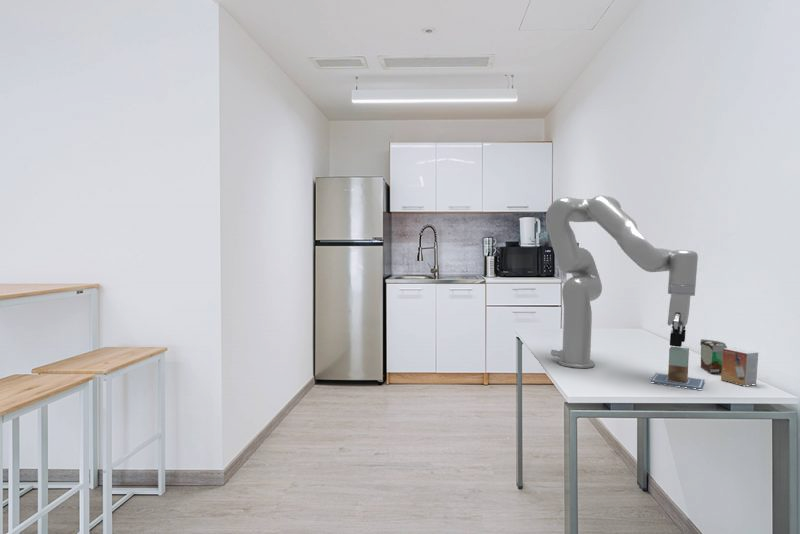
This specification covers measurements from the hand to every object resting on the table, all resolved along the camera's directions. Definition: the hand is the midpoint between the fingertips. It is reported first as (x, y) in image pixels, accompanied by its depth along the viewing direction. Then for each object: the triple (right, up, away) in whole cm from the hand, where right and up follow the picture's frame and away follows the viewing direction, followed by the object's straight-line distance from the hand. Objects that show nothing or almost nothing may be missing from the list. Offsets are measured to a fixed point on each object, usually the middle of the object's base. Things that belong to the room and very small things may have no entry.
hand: (677, 343), depth 167 cm
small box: (+20, -13, +1) cm, 24 cm away
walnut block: (0, -12, 0) cm, 12 cm away
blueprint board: (0, -12, 0) cm, 12 cm away
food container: (+22, -12, +16) cm, 30 cm away
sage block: (0, -7, 0) cm, 7 cm away
